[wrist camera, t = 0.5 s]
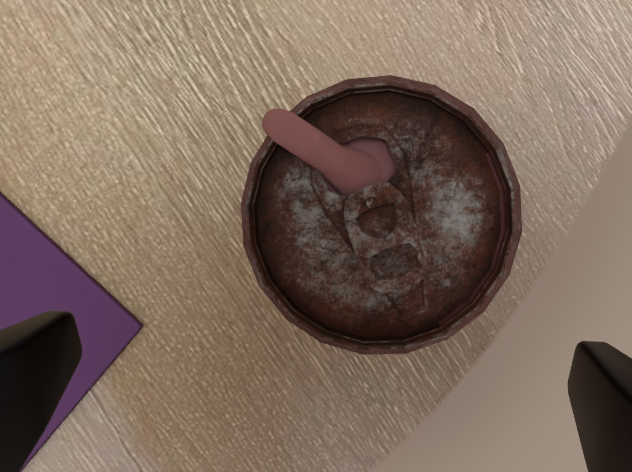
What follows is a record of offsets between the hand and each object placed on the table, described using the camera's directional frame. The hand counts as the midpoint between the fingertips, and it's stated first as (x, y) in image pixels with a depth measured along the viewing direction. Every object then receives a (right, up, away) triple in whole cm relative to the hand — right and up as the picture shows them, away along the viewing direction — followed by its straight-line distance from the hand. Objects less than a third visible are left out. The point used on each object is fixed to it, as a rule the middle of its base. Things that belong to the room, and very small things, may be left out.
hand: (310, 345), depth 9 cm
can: (+3, +3, +15) cm, 16 cm away
